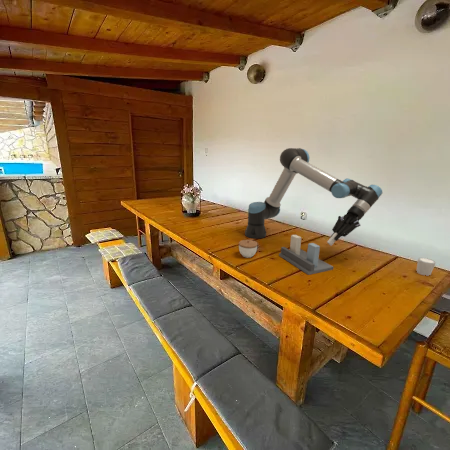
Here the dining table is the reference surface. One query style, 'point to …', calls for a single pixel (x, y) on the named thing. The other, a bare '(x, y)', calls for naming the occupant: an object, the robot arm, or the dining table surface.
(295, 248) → the cream key
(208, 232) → the dining table surface
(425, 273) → the beige cylinder
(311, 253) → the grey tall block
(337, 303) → the dining table surface
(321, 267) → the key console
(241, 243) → the lidded jar
